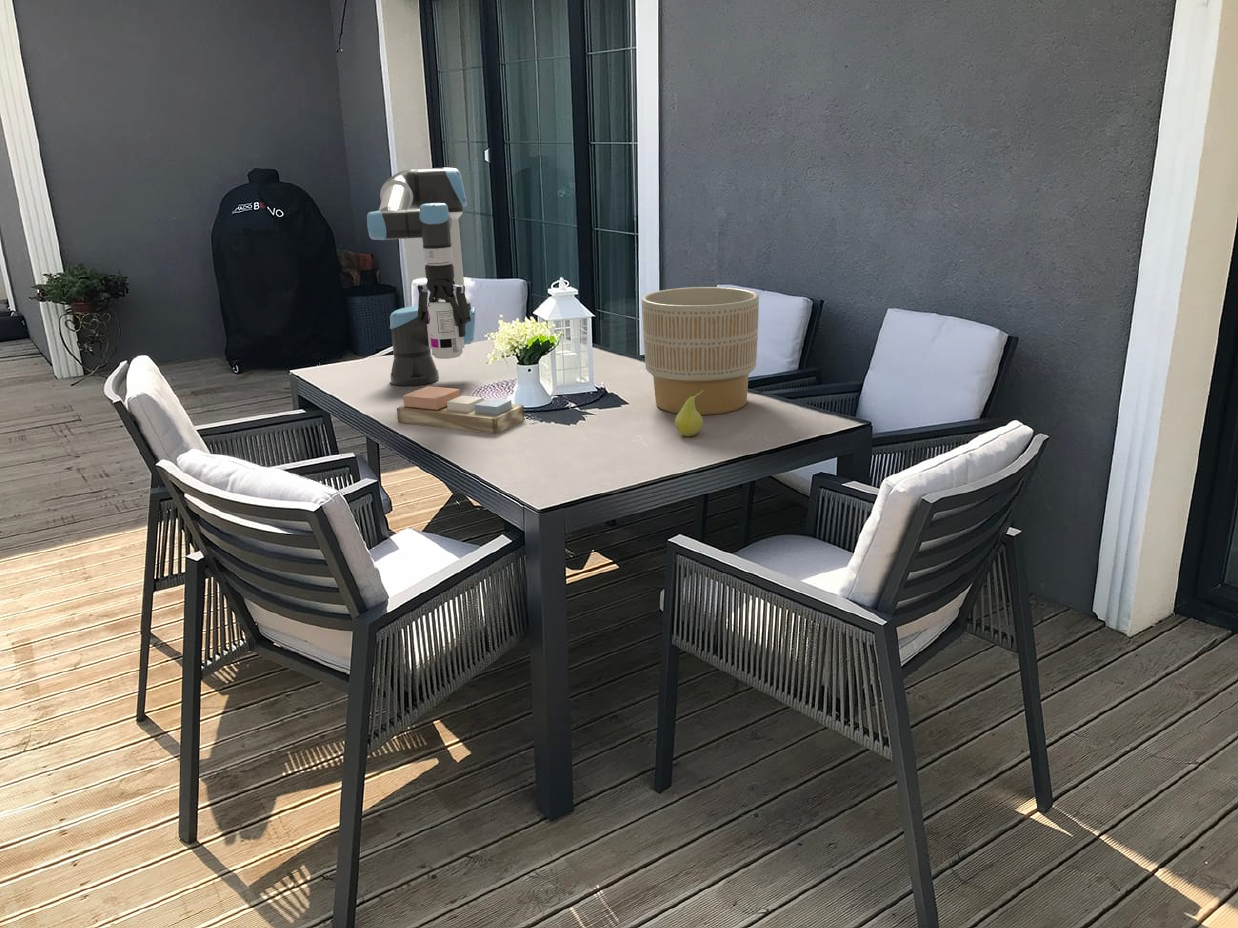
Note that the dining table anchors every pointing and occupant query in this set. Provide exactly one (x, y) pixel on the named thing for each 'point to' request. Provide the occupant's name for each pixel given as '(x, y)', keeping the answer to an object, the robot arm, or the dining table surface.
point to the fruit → (689, 418)
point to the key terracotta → (430, 398)
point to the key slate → (493, 406)
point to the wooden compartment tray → (462, 419)
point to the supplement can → (442, 330)
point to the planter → (701, 346)
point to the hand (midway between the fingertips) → (446, 347)
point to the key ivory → (463, 403)
